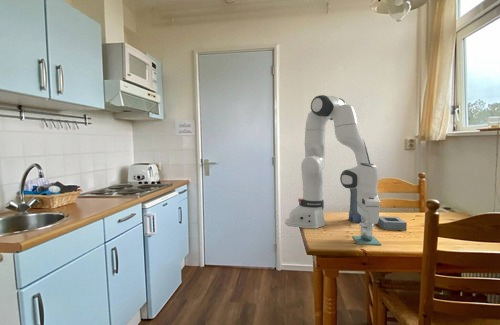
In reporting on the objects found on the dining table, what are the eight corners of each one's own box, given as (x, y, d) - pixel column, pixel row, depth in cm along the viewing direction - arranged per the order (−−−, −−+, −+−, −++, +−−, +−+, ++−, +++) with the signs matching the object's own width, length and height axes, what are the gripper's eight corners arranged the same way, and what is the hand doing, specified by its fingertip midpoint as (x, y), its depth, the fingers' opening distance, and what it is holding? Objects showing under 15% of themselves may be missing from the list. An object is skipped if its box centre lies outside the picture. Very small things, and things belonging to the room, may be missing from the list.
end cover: (361, 240, 123) (361, 225, 123) (357, 235, 129) (358, 221, 129) (375, 240, 122) (376, 225, 122) (371, 236, 129) (371, 221, 128)
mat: (358, 244, 122) (358, 243, 122) (352, 236, 131) (352, 235, 131) (381, 245, 120) (381, 244, 120) (373, 237, 130) (373, 236, 130)
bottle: (347, 218, 164) (348, 169, 162) (364, 218, 163) (365, 169, 161) (350, 222, 155) (351, 170, 153) (368, 223, 153) (369, 171, 151)
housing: (384, 229, 142) (384, 222, 142) (377, 223, 153) (377, 216, 153) (406, 230, 141) (406, 222, 141) (397, 224, 152) (397, 217, 152)
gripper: (354, 193, 135) (353, 220, 136) (366, 202, 115) (365, 234, 116) (367, 194, 134) (366, 221, 135) (382, 203, 114) (381, 235, 115)
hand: (366, 227), depth 126 cm, fingers closed on end cover, 6 cm apart
